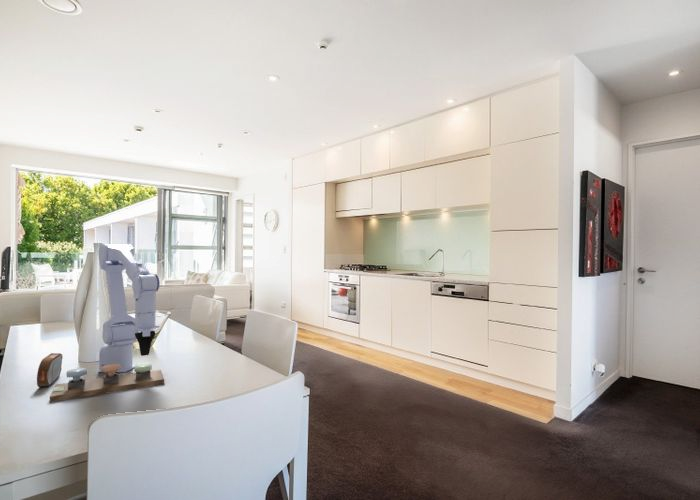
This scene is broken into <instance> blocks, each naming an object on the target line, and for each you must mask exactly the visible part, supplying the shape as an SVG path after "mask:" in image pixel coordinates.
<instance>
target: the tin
mask: <svg viewBox="0 0 700 500" xmlns="http://www.w3.org/2000/svg"><path fill="white" fill-rule="evenodd" d="M62 363H63V354H62V353H59V352H57V353H53V352H51V353H50V354H48V355H47V356H45V357H43V358H42V360H41V361H40V363H39V365H38V369H37V373H36V374H37V375H36V385H37V387H38V388H41V387H50V386H51V385H53V383H55V381H57V380H58V379H59V377H60V375H61V372H62V366H63V365H62Z"/></svg>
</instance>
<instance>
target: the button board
mask: <svg viewBox="0 0 700 500" xmlns="http://www.w3.org/2000/svg"><path fill="white" fill-rule="evenodd" d="M119 373H120V372H115V376H113V377H108V374H103V377H99V378H94V379H93V378H92V379H87V380H86V377H81V378H80V381H78V382H73V378H72V379H69V380H68V382H64V383H59V384H57V383H56V384H54V387H53V389H52V391H51V393H50V395H49V403H52V402H51V401H54V402H59V401H58V400H60V401H64V400H72V399H77V398H78V399H79V398H84V397H90V396H91V397H92V396H95V395H103V394H108V393H109V394H110V393H116V392H121V391H123V392H124V391H128V390H134V389H140V388H147V387H148V388H149V387H153V386H160V385H165V378H164V374H163V372H162V370H161V369H157V370H150V371H146V372H143V373H140V372H134V373H129V374H122V375H121V374H120V375H119Z"/></svg>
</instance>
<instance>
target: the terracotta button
mask: <svg viewBox="0 0 700 500" xmlns="http://www.w3.org/2000/svg"><path fill="white" fill-rule="evenodd" d="M120 369H121V365H120V364H110V365H105V366H103V367H102V372H101V373H104V374H105V373H106V374H107V375H108V377H113V376H115V374H116V373H117V372H116V371H119V370H120Z"/></svg>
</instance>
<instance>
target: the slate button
mask: <svg viewBox="0 0 700 500" xmlns="http://www.w3.org/2000/svg"><path fill="white" fill-rule="evenodd" d="M87 371H88V369H87V368H86V367H79V368H72V369H68V370H67V371H66V374H65V375H66V378H72V379H73V382H78V381H80V378H82V376H86V375H88V373H87Z"/></svg>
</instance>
